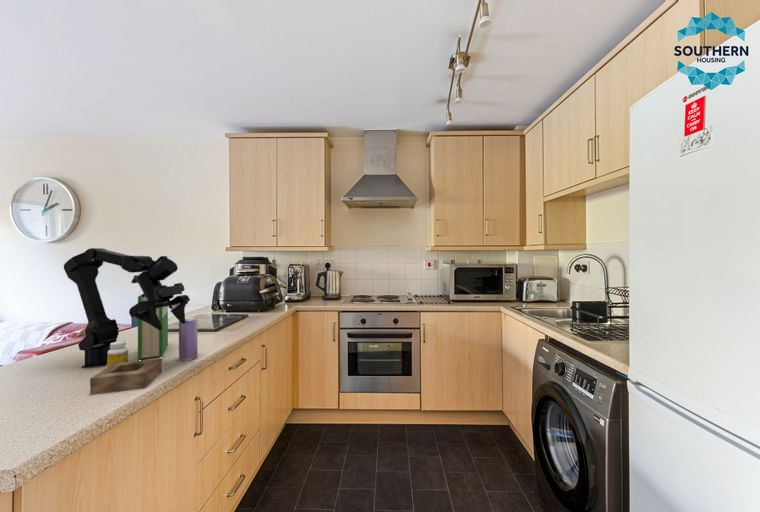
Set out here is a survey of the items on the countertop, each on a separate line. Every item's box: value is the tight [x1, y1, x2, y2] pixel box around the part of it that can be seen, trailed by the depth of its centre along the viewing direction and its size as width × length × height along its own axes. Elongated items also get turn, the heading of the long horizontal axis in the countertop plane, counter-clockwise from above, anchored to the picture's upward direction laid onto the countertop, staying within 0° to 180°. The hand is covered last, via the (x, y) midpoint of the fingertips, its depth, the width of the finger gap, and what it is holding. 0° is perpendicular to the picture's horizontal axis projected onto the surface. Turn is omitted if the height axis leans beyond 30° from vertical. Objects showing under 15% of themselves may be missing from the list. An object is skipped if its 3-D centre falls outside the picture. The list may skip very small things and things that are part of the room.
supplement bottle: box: [106, 340, 129, 368], centre depth 102 cm, size 5×5×10 cm
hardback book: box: [137, 294, 169, 361], centre depth 121 cm, size 18×7×24 cm, turn 30°
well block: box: [89, 358, 163, 395], centre depth 92 cm, size 13×13×4 cm
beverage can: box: [178, 317, 199, 361], centre depth 114 cm, size 6×6×15 cm
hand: (173, 326), depth 103 cm, fingers open, 9 cm apart
